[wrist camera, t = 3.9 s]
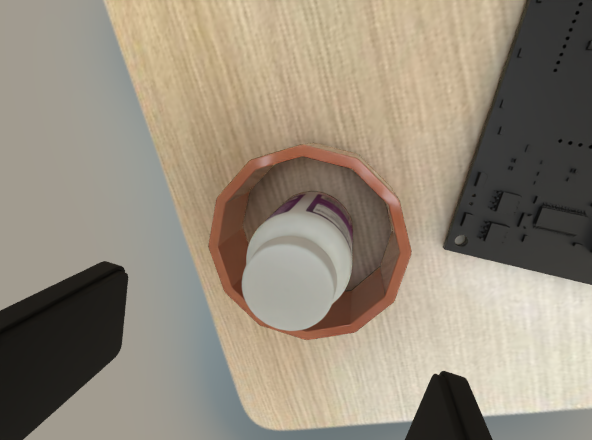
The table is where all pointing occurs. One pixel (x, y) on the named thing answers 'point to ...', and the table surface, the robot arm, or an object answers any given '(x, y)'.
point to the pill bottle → (299, 262)
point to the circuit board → (536, 151)
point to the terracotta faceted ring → (351, 304)
